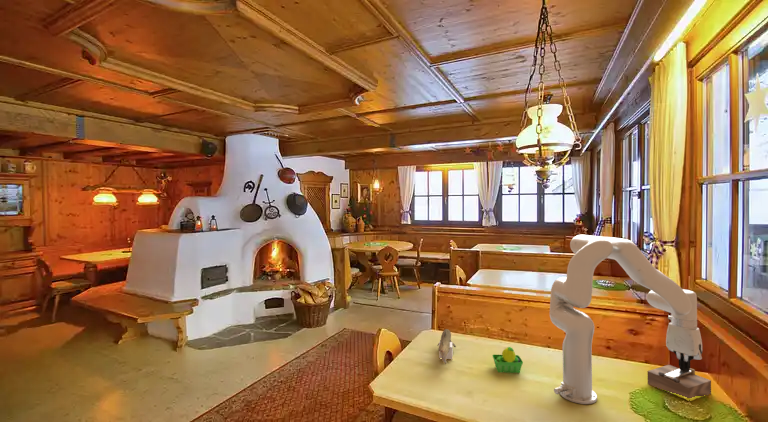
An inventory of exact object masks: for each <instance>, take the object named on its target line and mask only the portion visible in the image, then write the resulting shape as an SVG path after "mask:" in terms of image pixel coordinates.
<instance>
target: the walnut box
mask: <svg viewBox="0 0 768 422" xmlns="http://www.w3.org/2000/svg"><path fill="white" fill-rule="evenodd" d="M677 369H680V367H676V366H675V365H674V366H673V365H671V364H666V365H664V366H661V367H657V368H654V369H650V370H648V371H647V385H650V386H652V387H655V388H656V387H657V388H656V389H659V388H660V389H659V390H661V389H663V390H666V391H669V392H672V393H676V394H679V395H682V396H685V397H687V398H692V397H695V396H704V395H707V396H710V395H711V394H712V380H711V379H708V378H706V377H703V376H700V375H698V374H696V369H694V368H691V367H690V369H689V370H691V373H688V374H686V375H683V376H681V377H678V378H674V380H673V379H670V378H668V377H665V376H664V374H666V373H669V372H672V371H674V370H677ZM663 390H662V391H663ZM709 394H710V395H709ZM704 397H705V396H704Z"/></svg>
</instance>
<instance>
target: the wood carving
mask: <svg viewBox="0 0 768 422" xmlns="http://www.w3.org/2000/svg"><path fill="white" fill-rule="evenodd" d="M441 333H442V334H441V337H440V339H439V342H438V344H437V346H438V356H439V357H438V359H439V358H442V359H441V360H442V362H443V363H444V364H447V360H446V359H452V360H453V358H452V357H453V356H454V355H453V354H454V352H453V347H454V348H457V346H456V344H455V343H454V342H453V341H452V333H451V330H449V329H447V328H445V329H444V330H443V331H442V332H441Z"/></svg>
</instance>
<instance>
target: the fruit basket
mask: <svg viewBox="0 0 768 422" xmlns="http://www.w3.org/2000/svg"><path fill="white" fill-rule="evenodd" d="M492 358H493V362H494V365H495V369H496V371H497V373H506V374H509V373H511V374H514V373H515V374H520V372H521V370H522V366H523V363H524V362H523V360H522V359H521V356H519V355H518V354H516V353H515V351H514V349H513V347H511V346H508V347H506V348H504V349H503V350H502V353H501V354H492Z"/></svg>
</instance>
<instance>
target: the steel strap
mask: <svg viewBox="0 0 768 422" xmlns="http://www.w3.org/2000/svg"><path fill="white" fill-rule="evenodd" d="M688 373H691V370H688V371H683V370H680V368H679V369H677V370H674V371H672V372H669V373H666V374H664V376H665V377H668V378H670V379H673V380H674V378H678V377H681V376H683V375H686V374H688Z"/></svg>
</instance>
